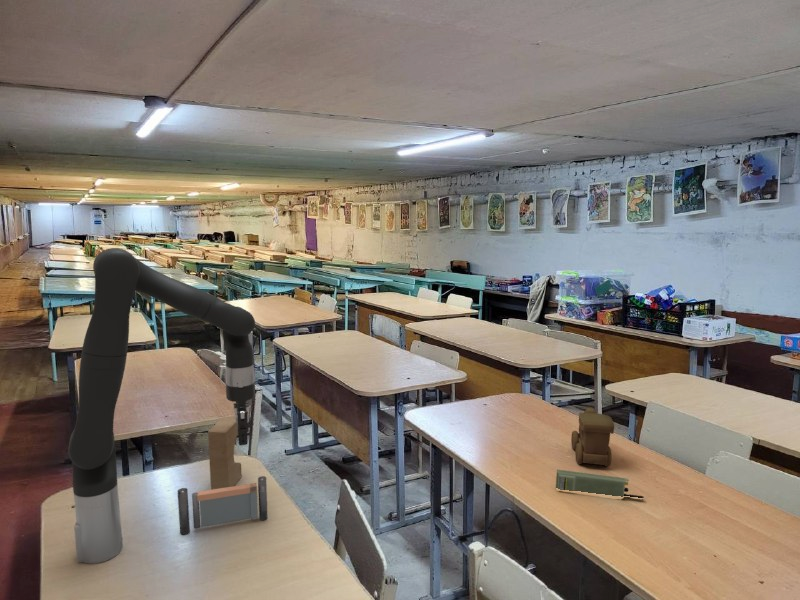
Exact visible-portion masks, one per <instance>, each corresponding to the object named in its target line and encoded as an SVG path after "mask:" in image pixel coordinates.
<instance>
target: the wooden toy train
mask: <svg viewBox="0 0 800 600" xmlns="http://www.w3.org/2000/svg"><path fill="white" fill-rule="evenodd" d="M578 423H579V424H578V431H577V430H573V431H572V432H571V438H570V440H571V449H572V450H573V451H575V462H576V461H577V462H576V463H577V464H578V463H580V464H579V465H581V464H582V463H583V464H593V465H603V466H605V465H606V466H605V467H607V466H608V467H610V466H611V464H612V449H611V447H610V442H611V441H610V439H611V434H612V435H613V434H614V433H615V423H614V421H613V419H612V417H611V416H610V415H609V414H603V413H597V411H596V410H595V409H594V408H593V407H587V408H586V409H585V410H584V411H583V412H579V413H578Z"/></svg>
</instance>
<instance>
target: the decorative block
mask: <svg viewBox="0 0 800 600" xmlns="http://www.w3.org/2000/svg"><path fill="white" fill-rule="evenodd" d="M207 435H208V436H207V437H208V438H207V439H208V452H209V453H208V456H209V457H208V458H209V459H208V460H209V474H210V475H209V476H210V490H213V489H219V488H226V487H232V486H236V485H237V483H238V482H239V480H240V479H241V477H242V474H243V473H242V463H241V462H235V451H234V450H235V445H236V440H237V437H238V431H237V424H236V421H235V416H222V417H221V419H219V420H218V421H217V422H216V423H215V424H214V425H213V426H212V427H211V428H210V429H209V430H208V431H207Z"/></svg>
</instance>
